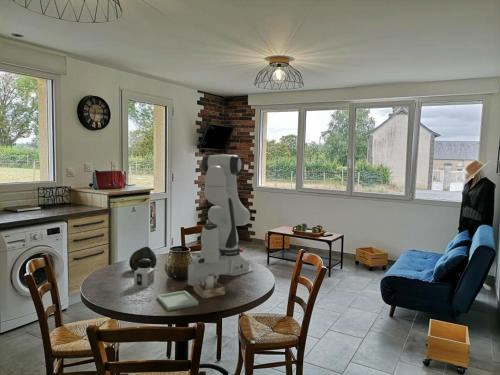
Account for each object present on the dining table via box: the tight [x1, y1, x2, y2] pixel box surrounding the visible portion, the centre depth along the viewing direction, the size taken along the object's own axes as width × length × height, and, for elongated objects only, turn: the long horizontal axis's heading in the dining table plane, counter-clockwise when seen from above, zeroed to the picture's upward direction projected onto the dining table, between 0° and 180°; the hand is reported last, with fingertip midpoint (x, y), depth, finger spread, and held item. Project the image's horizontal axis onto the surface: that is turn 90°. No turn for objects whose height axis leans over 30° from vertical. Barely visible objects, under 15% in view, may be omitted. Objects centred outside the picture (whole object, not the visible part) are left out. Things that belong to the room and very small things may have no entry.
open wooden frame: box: [193, 281, 226, 299], centre depth 183 cm, size 12×12×4 cm
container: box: [133, 259, 155, 288], centre depth 192 cm, size 8×8×13 cm
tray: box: [156, 290, 199, 312], centre depth 170 cm, size 14×16×2 cm
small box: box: [187, 264, 205, 287], centre depth 193 cm, size 8×6×10 cm
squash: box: [128, 246, 158, 271], centre depth 215 cm, size 14×15×15 cm
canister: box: [204, 274, 215, 290], centre depth 183 cm, size 5×5×10 cm
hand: (209, 284), depth 183 cm, fingers closed on canister, 4 cm apart
